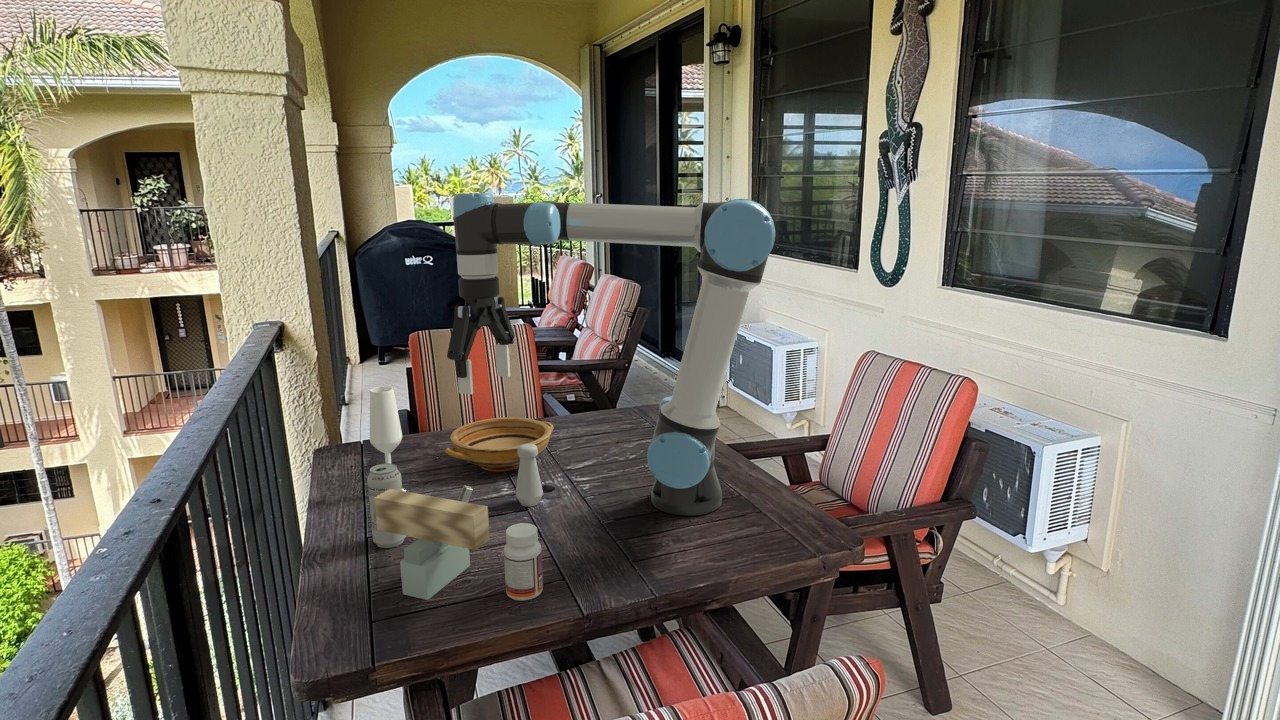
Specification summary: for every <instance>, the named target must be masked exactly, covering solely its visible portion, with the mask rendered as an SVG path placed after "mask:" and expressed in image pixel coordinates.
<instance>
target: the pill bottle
mask: <svg viewBox="0 0 1280 720" xmlns="http://www.w3.org/2000/svg"><path fill="white" fill-rule="evenodd" d="M538 535H539V533H538V527H537V526H536V525H535V524H532V523H528V522H521V523H516V524H513V525H510V526H508V527H507V529H506V530H505V541H506V543H505V546H504V547H503V560H504V561H503V562H504V563H503V564H504V578H505V579H504V581H505V593H506V594H507V595H506V596H508V597H509V598H510V599H512V600H514V601H530V600H533V599H535V598H537V597H538V596H540V595H541V593H542V592H543V587H544V581H543V580H544V578H543V556H542V550H543V549H542V546H541V543H540V541H539V539H538V538H539V536H538Z"/></svg>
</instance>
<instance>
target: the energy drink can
mask: <svg viewBox="0 0 1280 720" xmlns="http://www.w3.org/2000/svg"><path fill="white" fill-rule="evenodd" d="M402 480H403V479H402V473H401V472H400V471H399V470H398V466H397V464H394V463H391V464H390V463H386V462H385V463H380V464H376V465H373V466H372V467H371V468H369V473H368V476H367V478H366V482H367V490H368V491H367V492H368V494H367V495H368V501H369V502H368V503H369V512H370V522H371V532H372V534H371V535H372V541H373V543H374V544H376V546H377V547H378V548H382V549H391V548H395V547H398V546H400V545H402V544H403V542H404V540H405V539H406V537H407V536H404V535H399V534H394V533H390V532H385V531H380V530H377V521H376V510H375V500H374V498H375V497H376V496H378V495H380V494H382V493H384V492H385V491H387V490H389V489H394V490H400V491H402V488H403V484H402V483H403V481H402Z"/></svg>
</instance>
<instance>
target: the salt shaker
mask: <svg viewBox="0 0 1280 720" xmlns="http://www.w3.org/2000/svg"><path fill="white" fill-rule="evenodd" d="M517 453H518V457H520V464H519V468H518V471H517V472H518V473H517V480H516V485H515V487H516V489H515V496H516V498H517V500H518V502H519V504H520V505H521V506H522V507H529V508H532V507H535V506H537V505H539V503H540V500H541V499H542V497H543V496H544V490H543V487H542V481H541V477H540V473H539V467H538V463H537V459H536V458H537V457H538V456H539V455H538V449H537V446H536V445H534V444H523V445H520V446H519V447H518V450H517ZM537 455H538V456H537ZM536 456H537V457H536ZM535 457H536V458H535Z"/></svg>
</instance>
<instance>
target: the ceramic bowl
mask: <svg viewBox="0 0 1280 720" xmlns="http://www.w3.org/2000/svg"><path fill="white" fill-rule="evenodd" d="M553 431H554V425H553V424H552V423H551V422H549V421H540V420H537V419H533V418H527V417H517V416H515V417H513V416H512V417H510V416H509V417H494V418H487V419H485V418H484V419H481V420H477V421H473V422H470V423H466V424H463V425H462V426H460V427H457V428H456V429H455V430H453V431H452V433H451V434H450V436H449V439H450V442H452V447H447V448H445V450H444V452H445V454H446V455H449V456H451V457H453V458H455V459H461V460H463V461H465V462H468V463H470V464H472V465H473V464H474V465H477V466H480V468H481V469H483V470H486V471H490V472H509V471H513V469H514V470H517V469H519V464H520V457H518V453H517V450H518V447H519V446H520V445H523V444H534V445H536V446H537V449H538V455H537V456H536V457H535V458H537V457H538V456H540V455H541V454H542V453H543V452H544V451H545V450H546V449H547V446H548V445H549V441H550V438H551V435H552V433H553ZM508 470H509V471H508Z"/></svg>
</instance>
